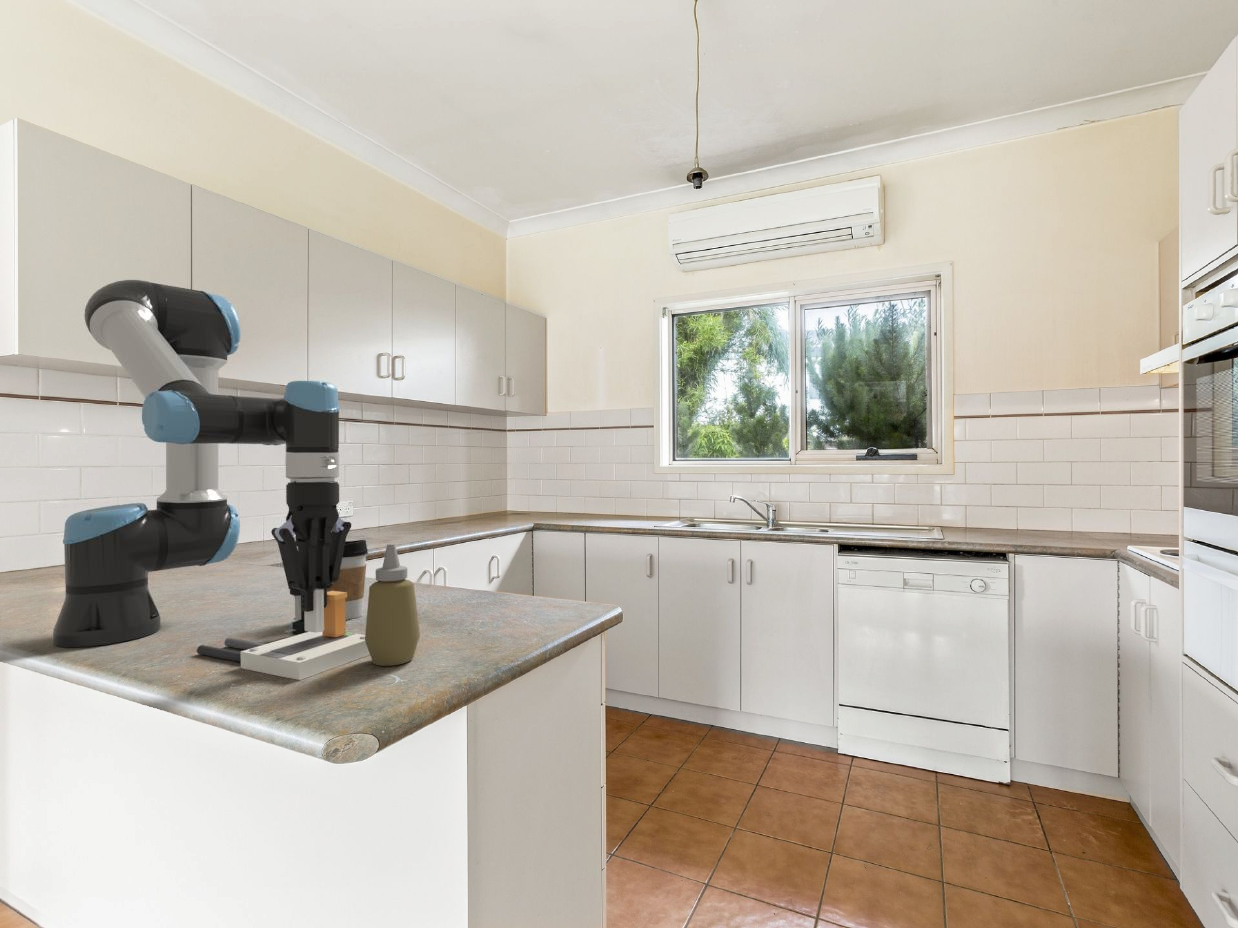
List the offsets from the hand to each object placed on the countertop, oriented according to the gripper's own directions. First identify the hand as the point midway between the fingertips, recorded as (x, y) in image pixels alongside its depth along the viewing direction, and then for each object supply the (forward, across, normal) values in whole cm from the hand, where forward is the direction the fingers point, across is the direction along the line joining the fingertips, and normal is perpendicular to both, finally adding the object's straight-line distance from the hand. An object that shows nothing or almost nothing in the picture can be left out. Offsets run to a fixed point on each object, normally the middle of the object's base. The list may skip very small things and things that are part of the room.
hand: (314, 630), depth 100 cm
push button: (+5, +8, +14) cm, 16 cm away
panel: (+4, -1, 0) cm, 4 cm away
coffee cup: (+4, +21, +18) cm, 28 cm away
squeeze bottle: (+5, +4, -12) cm, 14 cm away
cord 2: (+4, -1, +14) cm, 14 cm away
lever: (+2, +4, 0) cm, 4 cm away
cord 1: (+5, -6, +14) cm, 15 cm away
